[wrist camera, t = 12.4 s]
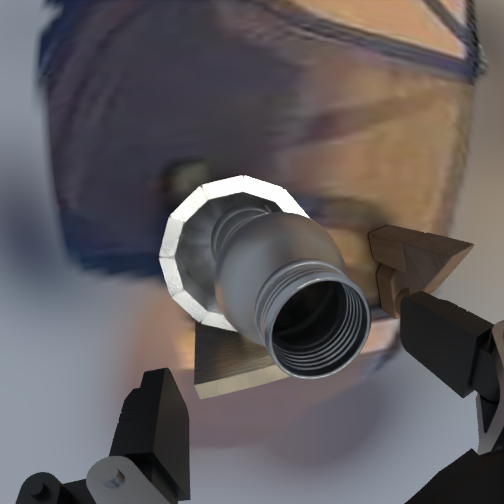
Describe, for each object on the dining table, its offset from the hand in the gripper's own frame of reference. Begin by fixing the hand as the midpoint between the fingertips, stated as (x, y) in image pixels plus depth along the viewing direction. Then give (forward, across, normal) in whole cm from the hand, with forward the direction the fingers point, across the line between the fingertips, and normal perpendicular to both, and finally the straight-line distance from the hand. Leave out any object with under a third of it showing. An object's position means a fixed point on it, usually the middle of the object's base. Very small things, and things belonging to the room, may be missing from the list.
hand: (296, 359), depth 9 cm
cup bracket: (+23, 0, +2) cm, 23 cm away
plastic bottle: (+20, -1, 0) cm, 20 cm away
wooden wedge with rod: (+23, -18, +8) cm, 30 cm away
